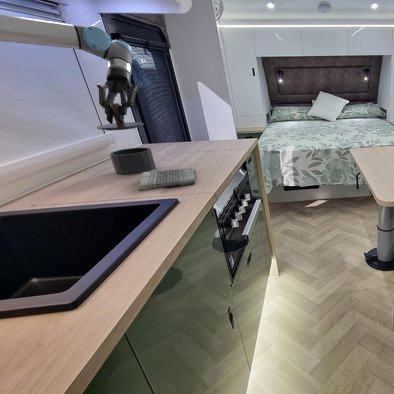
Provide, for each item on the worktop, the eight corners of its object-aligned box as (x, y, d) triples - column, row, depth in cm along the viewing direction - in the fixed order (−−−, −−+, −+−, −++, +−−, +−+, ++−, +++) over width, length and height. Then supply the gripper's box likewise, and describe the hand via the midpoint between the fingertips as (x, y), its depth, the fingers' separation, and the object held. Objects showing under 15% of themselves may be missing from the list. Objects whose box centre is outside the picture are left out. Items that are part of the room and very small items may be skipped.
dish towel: (197, 184, 105) (195, 176, 104) (138, 193, 97) (135, 184, 96) (196, 171, 120) (194, 163, 119) (145, 177, 113) (143, 169, 111)
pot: (108, 176, 114) (101, 155, 111) (128, 167, 127) (122, 148, 123) (145, 175, 116) (139, 154, 113) (161, 165, 128) (156, 146, 125)
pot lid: (88, 131, 106) (79, 105, 102) (113, 125, 119) (105, 102, 116) (131, 130, 107) (123, 104, 104) (151, 124, 121) (144, 101, 117)
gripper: (145, 80, 122) (143, 126, 114) (101, 81, 118) (95, 128, 110) (137, 66, 116) (134, 113, 107) (90, 66, 112) (83, 115, 103)
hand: (115, 121), depth 109 cm, fingers closed on pot lid, 3 cm apart
